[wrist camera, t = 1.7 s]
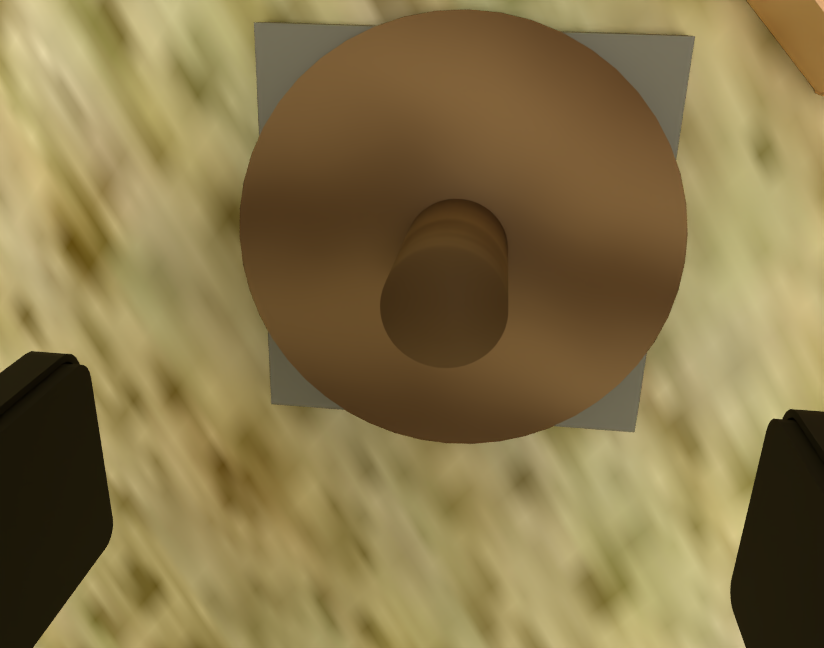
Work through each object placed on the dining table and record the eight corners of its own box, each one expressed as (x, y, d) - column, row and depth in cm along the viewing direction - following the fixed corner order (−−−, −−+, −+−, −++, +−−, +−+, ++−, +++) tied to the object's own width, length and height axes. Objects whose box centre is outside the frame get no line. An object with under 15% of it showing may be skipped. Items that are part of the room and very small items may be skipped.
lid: (647, 446, 25) (685, 563, 20) (257, 415, 27) (194, 517, 21) (717, 16, 21) (791, 19, 15) (236, 2, 22) (147, 0, 16)
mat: (630, 417, 26) (634, 432, 25) (279, 390, 27) (271, 403, 26) (686, 35, 22) (695, 36, 21) (264, 22, 23) (254, 22, 22)
